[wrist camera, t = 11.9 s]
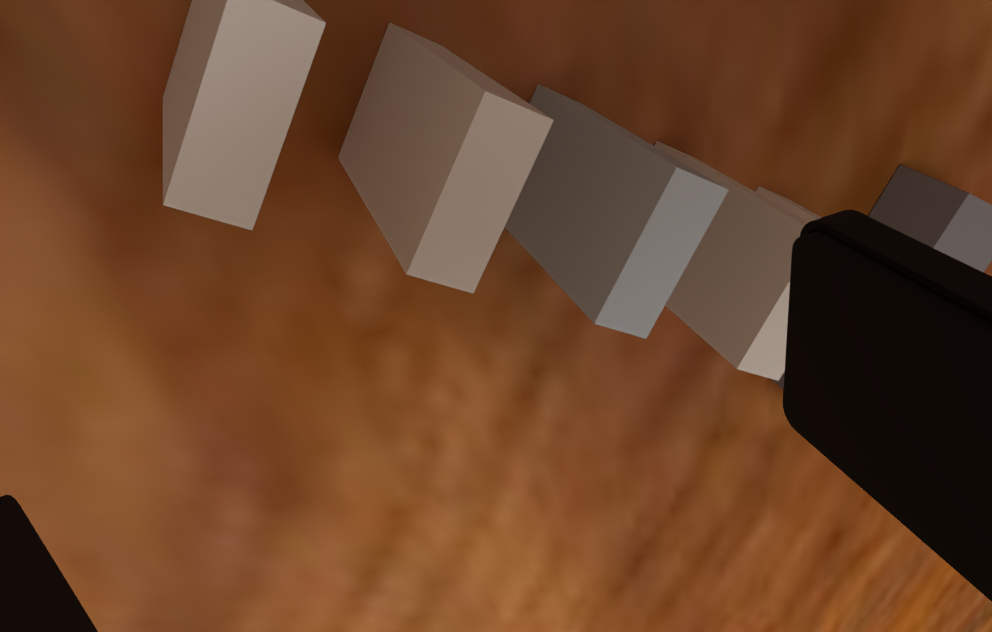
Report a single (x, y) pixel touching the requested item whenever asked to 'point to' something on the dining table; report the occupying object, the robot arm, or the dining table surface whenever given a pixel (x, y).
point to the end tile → (233, 103)
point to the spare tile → (610, 215)
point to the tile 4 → (740, 276)
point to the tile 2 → (439, 157)
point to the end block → (936, 218)
